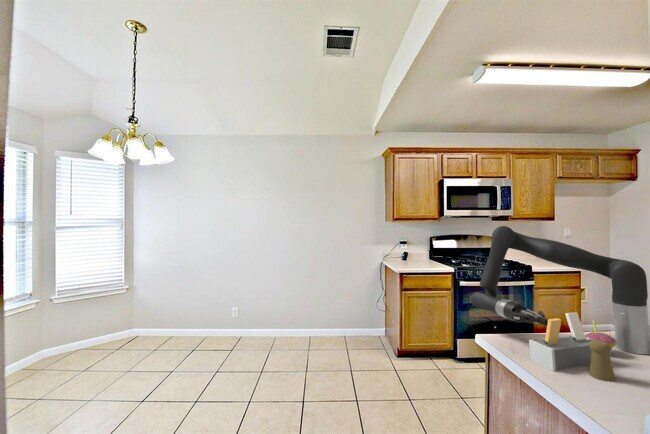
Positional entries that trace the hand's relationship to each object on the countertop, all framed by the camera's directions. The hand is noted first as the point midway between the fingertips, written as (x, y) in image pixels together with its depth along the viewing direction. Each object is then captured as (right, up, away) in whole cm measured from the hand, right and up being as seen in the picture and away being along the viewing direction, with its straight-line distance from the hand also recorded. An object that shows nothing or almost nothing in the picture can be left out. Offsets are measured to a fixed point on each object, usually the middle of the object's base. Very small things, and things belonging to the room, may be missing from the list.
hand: (549, 323), depth 103 cm
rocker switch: (+12, -7, +2) cm, 14 cm away
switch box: (+7, -14, 0) cm, 15 cm away
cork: (+9, -13, -10) cm, 19 cm away
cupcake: (+24, -13, +6) cm, 29 cm away
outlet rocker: (0, -7, 0) cm, 7 cm away
